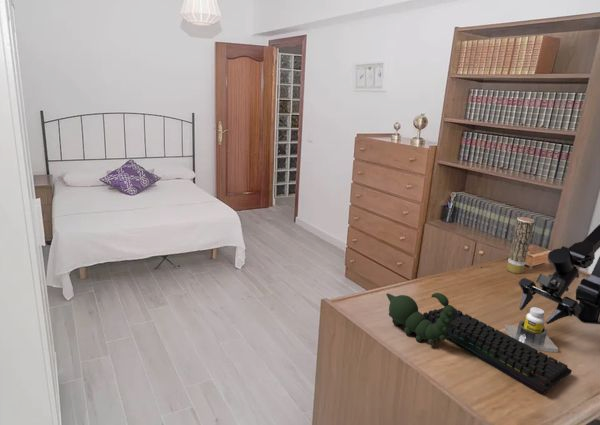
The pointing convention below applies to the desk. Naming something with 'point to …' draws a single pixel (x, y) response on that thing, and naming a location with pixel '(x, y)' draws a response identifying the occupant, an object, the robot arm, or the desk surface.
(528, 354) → the keyboard
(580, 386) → the desk surface
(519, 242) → the bark textured cylinder
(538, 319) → the supplement bottle
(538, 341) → the cup bracket
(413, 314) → the toy figurine
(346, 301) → the desk surface
